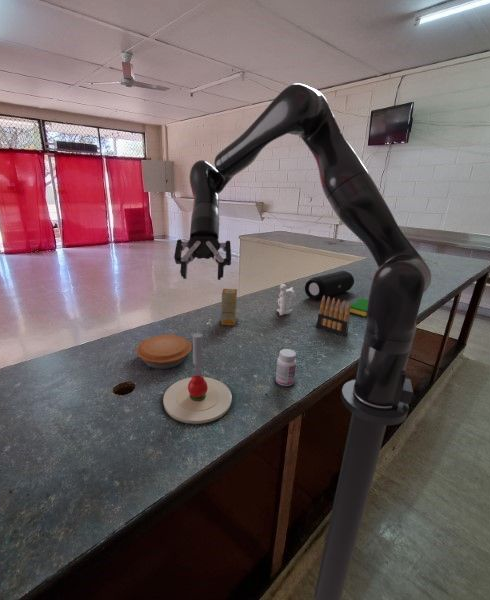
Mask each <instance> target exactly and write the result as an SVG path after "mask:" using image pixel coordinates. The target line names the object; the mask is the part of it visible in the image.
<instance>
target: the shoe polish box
mask: <svg viewBox="0 0 490 600" xmlns="http://www.w3.org/2000/svg"><path fill="white" fill-rule="evenodd" d="M237 302H238V289H235V288H222V292H221V315H220V317H221V318H220V319H221V320H220V321H221V322H220V325H221V326H232V327H235V326H236V322H237V304H238V303H237Z"/></svg>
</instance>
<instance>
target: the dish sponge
mask: <svg viewBox="0 0 490 600" xmlns="http://www.w3.org/2000/svg"><path fill="white" fill-rule="evenodd" d="M368 300H369V299H367V298H362V297H361V298H359V299H358V300H357V301H355V302H354V303H351V304H350V313H352V314H355V315H359V316H362V317H367V306H368Z"/></svg>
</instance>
